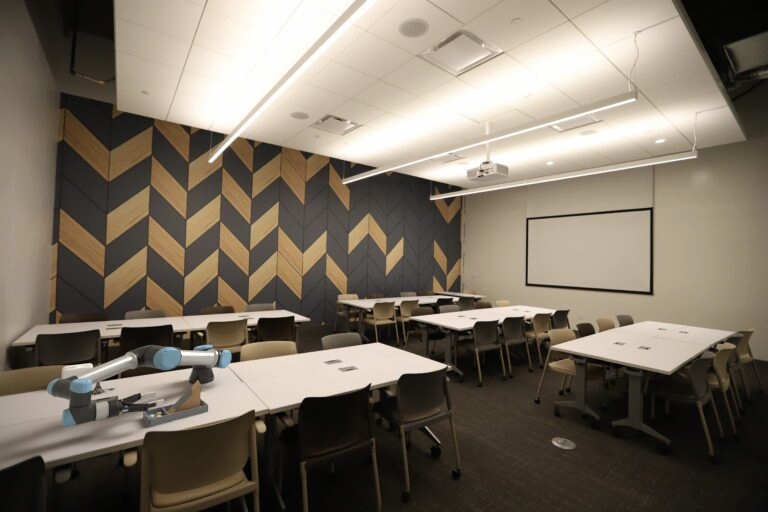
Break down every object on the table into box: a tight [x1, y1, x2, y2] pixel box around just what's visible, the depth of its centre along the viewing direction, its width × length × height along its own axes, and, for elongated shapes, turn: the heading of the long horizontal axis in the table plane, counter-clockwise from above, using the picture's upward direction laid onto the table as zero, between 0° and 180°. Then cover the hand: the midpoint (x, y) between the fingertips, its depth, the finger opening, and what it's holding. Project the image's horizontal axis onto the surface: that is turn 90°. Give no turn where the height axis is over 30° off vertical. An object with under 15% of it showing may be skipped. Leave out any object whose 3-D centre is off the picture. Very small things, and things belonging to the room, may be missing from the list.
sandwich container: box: [167, 380, 202, 414], centre depth 189 cm, size 9×15×15 cm, turn 127°
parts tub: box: [142, 397, 209, 428], centre depth 186 cm, size 27×13×4 cm, turn 136°
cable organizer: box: [61, 362, 94, 379], centre depth 223 cm, size 15×11×12 cm
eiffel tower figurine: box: [92, 381, 116, 396], centre depth 212 cm, size 15×10×13 cm
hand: (159, 398), depth 180 cm, fingers open, 13 cm apart
